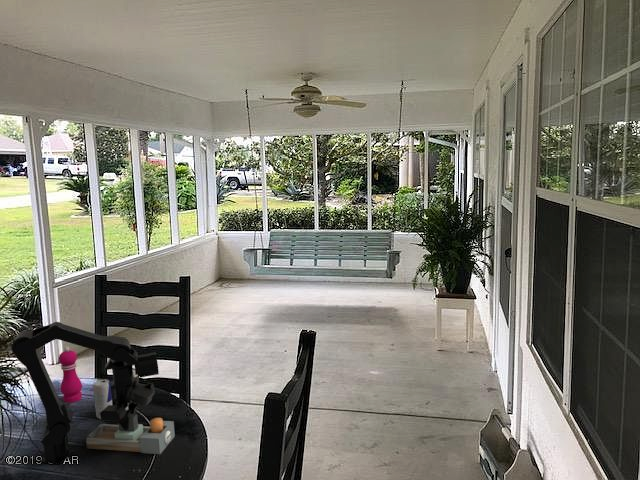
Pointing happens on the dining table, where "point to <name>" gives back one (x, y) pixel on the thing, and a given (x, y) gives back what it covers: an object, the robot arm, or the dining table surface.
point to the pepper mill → (70, 377)
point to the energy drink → (102, 395)
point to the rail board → (111, 439)
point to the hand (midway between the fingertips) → (128, 427)
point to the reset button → (156, 425)
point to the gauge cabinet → (157, 439)
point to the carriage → (130, 429)
